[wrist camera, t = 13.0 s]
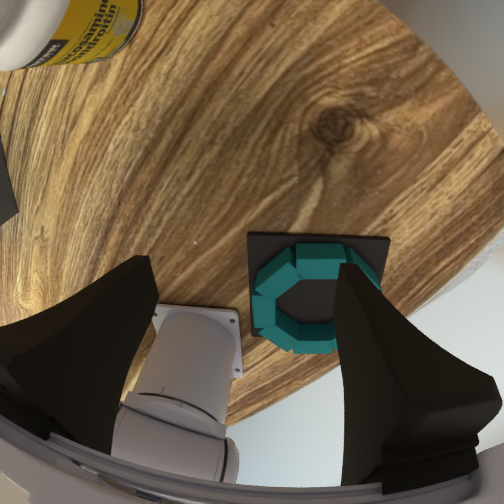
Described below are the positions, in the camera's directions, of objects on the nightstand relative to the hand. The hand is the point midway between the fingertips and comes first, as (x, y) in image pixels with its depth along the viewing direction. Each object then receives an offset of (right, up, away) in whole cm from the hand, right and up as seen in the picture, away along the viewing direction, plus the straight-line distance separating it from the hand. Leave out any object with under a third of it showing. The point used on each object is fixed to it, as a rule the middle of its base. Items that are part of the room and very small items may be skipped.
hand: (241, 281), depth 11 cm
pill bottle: (-9, +16, +2) cm, 19 cm away
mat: (+5, -2, +12) cm, 13 cm away
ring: (+5, -2, +11) cm, 13 cm away
